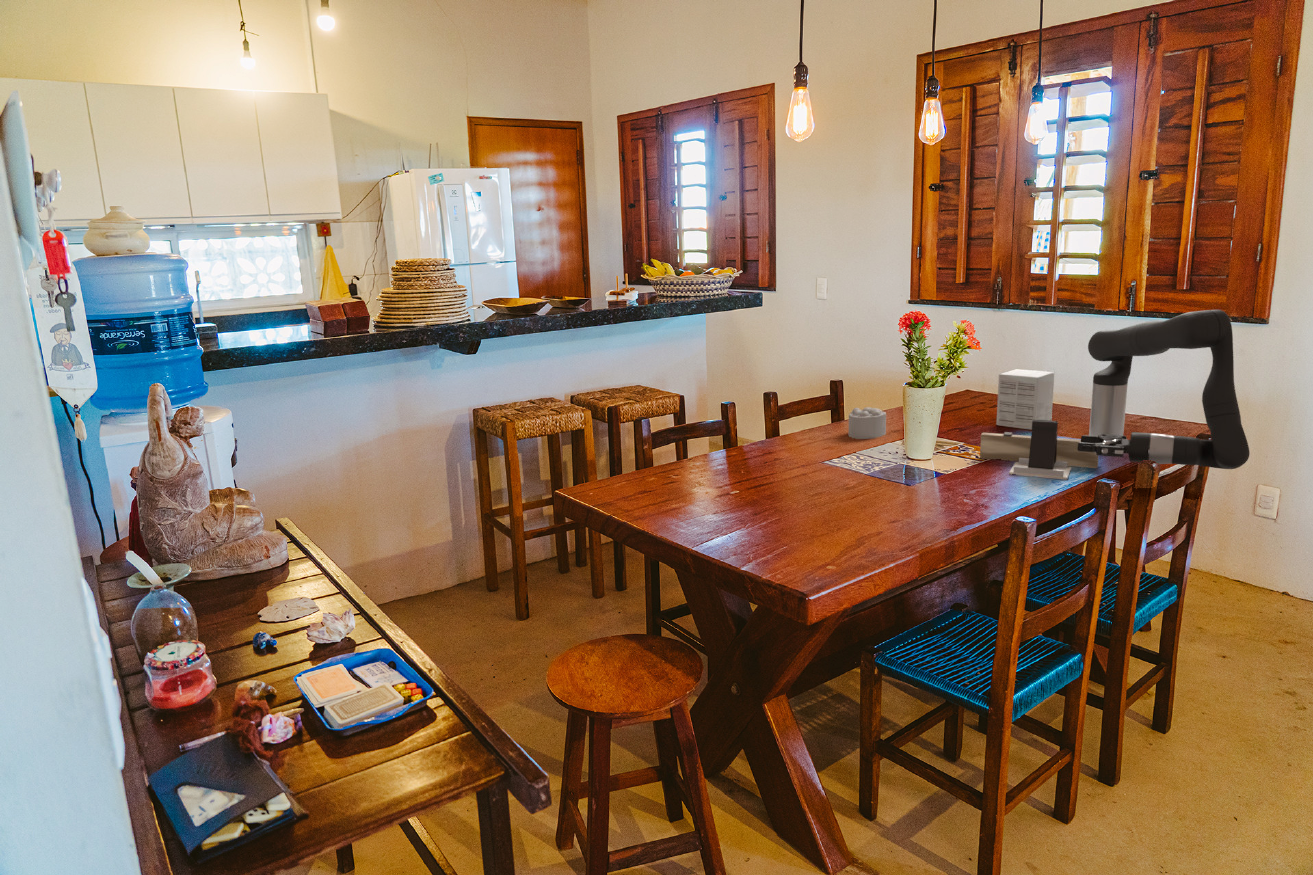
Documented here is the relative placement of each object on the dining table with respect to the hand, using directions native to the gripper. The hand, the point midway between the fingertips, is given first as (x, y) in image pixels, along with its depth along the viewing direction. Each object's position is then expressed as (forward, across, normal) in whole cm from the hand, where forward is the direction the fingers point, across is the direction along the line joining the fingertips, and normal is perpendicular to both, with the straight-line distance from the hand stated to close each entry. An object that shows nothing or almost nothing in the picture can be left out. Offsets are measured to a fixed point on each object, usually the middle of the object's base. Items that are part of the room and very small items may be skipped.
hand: (1079, 442), depth 215 cm
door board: (+11, -10, +9) cm, 17 cm away
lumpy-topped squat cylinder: (+65, -26, +9) cm, 70 cm away
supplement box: (+21, -58, +9) cm, 62 cm away
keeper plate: (+9, 0, +9) cm, 12 cm away
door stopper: (+8, 0, +7) cm, 11 cm away
